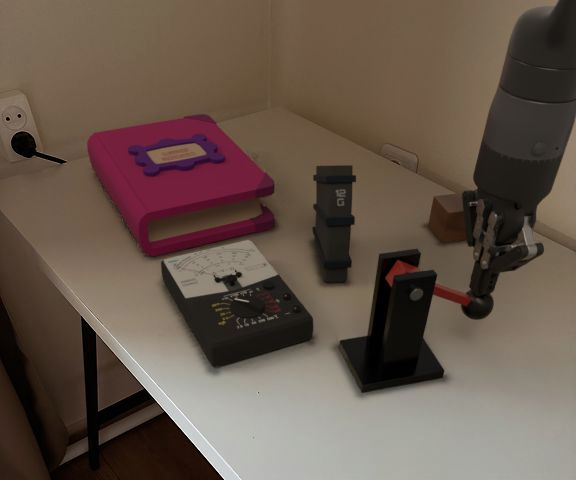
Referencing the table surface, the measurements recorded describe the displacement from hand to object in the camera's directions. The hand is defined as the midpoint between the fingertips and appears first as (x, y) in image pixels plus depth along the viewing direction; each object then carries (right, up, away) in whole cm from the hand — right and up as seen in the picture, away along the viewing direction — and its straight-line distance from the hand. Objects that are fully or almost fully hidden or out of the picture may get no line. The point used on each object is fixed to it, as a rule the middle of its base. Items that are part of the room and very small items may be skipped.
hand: (479, 291), depth 71 cm
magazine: (-16, +8, +20) cm, 26 cm away
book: (-39, +19, +31) cm, 53 cm away
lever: (-5, -2, -1) cm, 6 cm away
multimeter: (-28, -1, +11) cm, 30 cm away
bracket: (-9, -8, +4) cm, 13 cm away
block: (+3, +13, +25) cm, 28 cm away
